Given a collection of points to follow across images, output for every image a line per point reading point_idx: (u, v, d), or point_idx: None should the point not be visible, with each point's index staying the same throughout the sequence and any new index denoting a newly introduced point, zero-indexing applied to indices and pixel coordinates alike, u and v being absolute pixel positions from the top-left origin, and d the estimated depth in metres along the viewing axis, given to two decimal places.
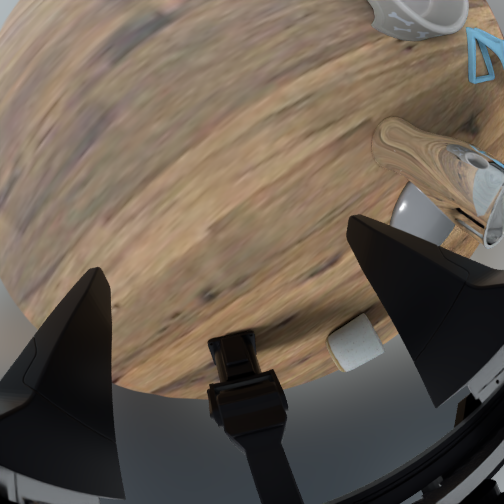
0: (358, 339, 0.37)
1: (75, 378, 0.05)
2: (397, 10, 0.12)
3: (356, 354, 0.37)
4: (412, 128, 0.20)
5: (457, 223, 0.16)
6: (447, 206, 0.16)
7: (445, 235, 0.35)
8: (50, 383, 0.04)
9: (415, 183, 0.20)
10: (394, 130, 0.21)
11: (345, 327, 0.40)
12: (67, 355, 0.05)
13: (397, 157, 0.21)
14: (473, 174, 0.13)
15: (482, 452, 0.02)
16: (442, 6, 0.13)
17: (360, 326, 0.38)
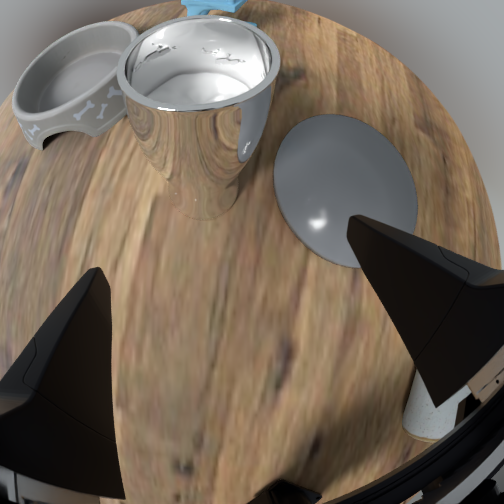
0: None
1: (75, 378, 0.05)
2: (70, 111, 0.18)
3: (441, 412, 0.17)
4: None
5: (198, 156, 0.11)
6: (171, 164, 0.12)
7: (407, 182, 0.25)
8: (50, 383, 0.04)
9: (192, 192, 0.16)
10: None
11: (410, 394, 0.21)
12: (67, 355, 0.05)
13: (178, 194, 0.19)
14: None
15: (482, 452, 0.02)
16: None
17: (421, 378, 0.20)
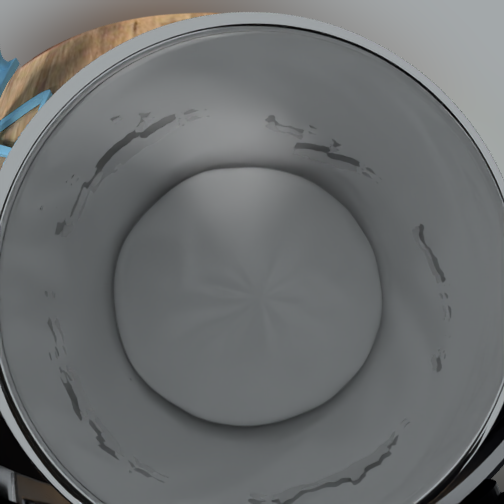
0: None
1: None
2: None
3: None
4: None
5: None
6: None
7: None
8: None
9: None
10: None
11: None
12: None
13: None
14: (91, 330, 0.04)
15: (482, 452, 0.02)
16: None
17: None
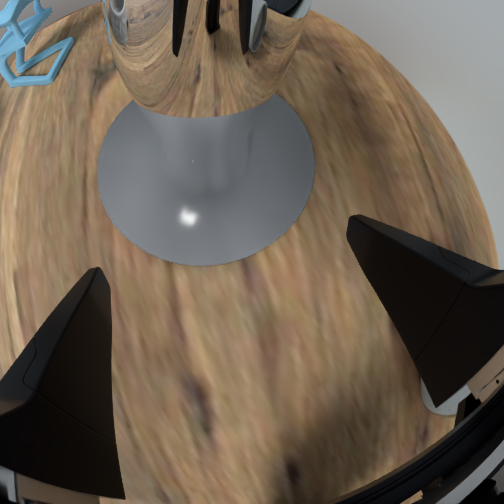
0: None
1: (75, 378, 0.05)
2: None
3: None
4: None
5: (196, 58, 0.06)
6: (156, 80, 0.06)
7: (284, 114, 0.19)
8: (50, 383, 0.04)
9: (188, 143, 0.11)
10: None
11: None
12: (67, 355, 0.05)
13: (171, 154, 0.14)
14: None
15: (482, 452, 0.02)
16: None
17: None
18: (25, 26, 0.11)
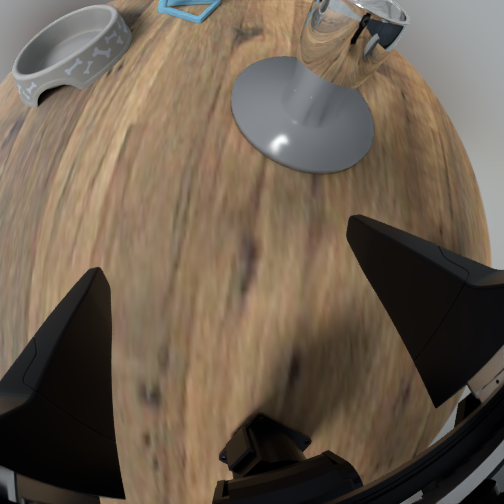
0: None
1: (75, 378, 0.05)
2: (62, 67, 0.19)
3: None
4: None
5: (352, 41, 0.13)
6: (329, 42, 0.14)
7: (361, 106, 0.26)
8: (50, 383, 0.04)
9: (319, 82, 0.18)
10: None
11: None
12: (66, 355, 0.05)
13: (299, 89, 0.21)
14: None
15: (482, 452, 0.02)
16: None
17: None
18: None
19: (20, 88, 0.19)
